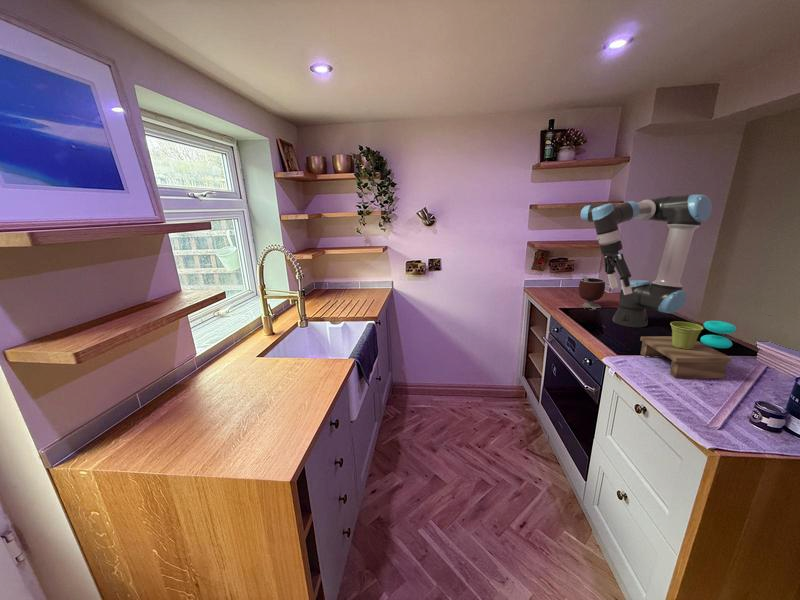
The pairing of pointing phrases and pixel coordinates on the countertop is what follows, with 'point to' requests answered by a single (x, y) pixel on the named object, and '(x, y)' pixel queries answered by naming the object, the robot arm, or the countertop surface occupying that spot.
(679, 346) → the plant pot
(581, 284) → the mate gourd
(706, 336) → the donuts
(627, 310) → the robot arm
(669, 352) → the walnut shelf stand
